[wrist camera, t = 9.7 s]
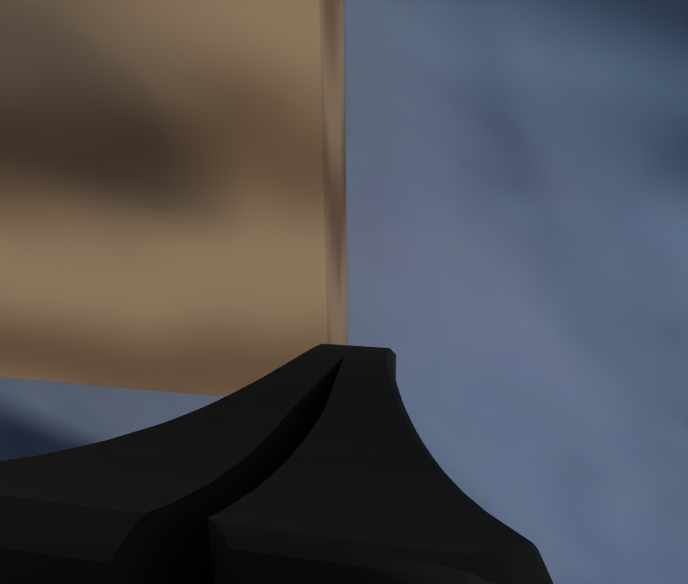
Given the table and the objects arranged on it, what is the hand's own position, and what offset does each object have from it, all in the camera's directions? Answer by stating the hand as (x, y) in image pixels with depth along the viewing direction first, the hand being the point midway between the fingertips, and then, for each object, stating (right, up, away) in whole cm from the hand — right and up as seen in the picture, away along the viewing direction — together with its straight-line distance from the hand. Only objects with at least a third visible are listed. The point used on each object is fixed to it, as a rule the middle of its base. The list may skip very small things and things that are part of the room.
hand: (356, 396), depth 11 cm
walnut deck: (-7, +6, +9) cm, 13 cm away
